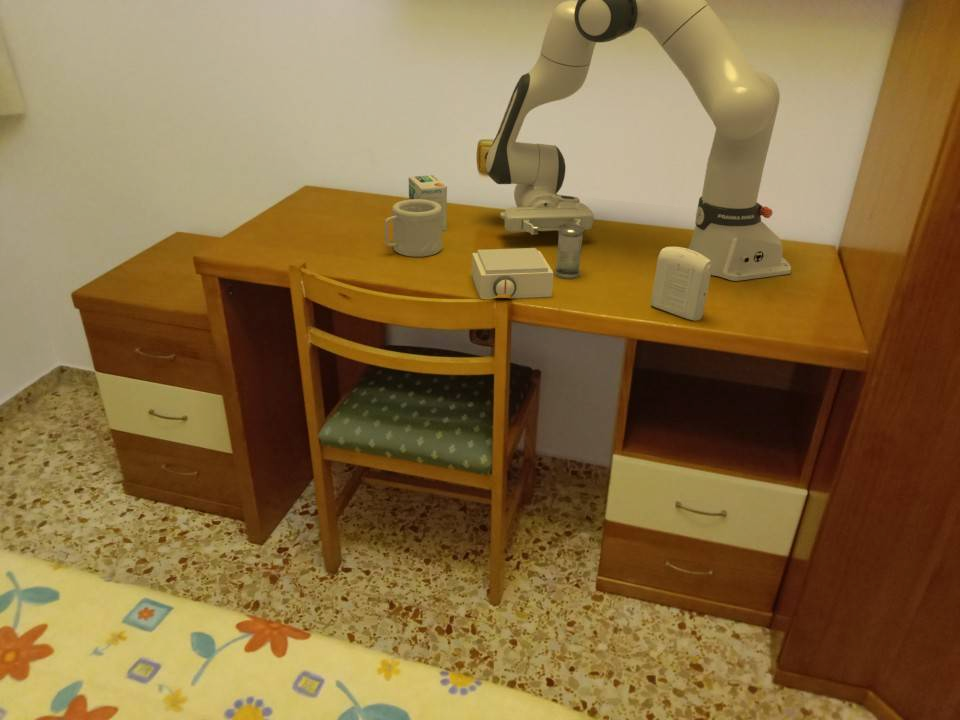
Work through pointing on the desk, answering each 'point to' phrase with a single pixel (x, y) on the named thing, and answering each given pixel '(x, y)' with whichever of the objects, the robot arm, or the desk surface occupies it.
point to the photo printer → (681, 282)
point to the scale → (512, 273)
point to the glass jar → (569, 251)
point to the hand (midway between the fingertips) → (556, 230)
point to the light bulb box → (430, 192)
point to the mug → (416, 228)
